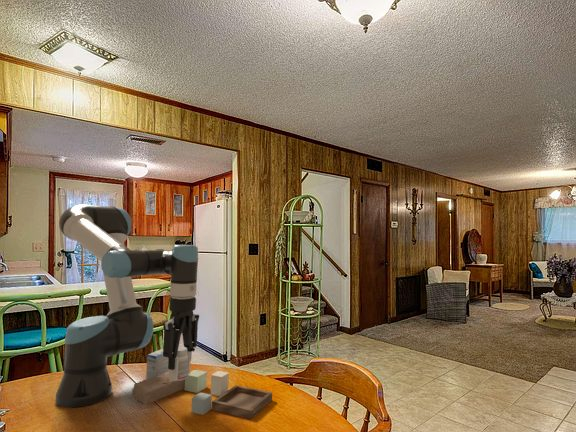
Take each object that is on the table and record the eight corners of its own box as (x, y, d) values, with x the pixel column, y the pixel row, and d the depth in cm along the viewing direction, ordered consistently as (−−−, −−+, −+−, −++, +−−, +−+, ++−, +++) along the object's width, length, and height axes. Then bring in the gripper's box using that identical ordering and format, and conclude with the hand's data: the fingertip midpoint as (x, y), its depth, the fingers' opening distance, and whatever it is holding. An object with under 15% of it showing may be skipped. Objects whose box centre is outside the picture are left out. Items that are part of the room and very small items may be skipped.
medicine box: (161, 372, 132) (162, 348, 133) (171, 374, 131) (172, 349, 131) (145, 380, 125) (146, 354, 126) (155, 382, 123) (156, 356, 124)
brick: (146, 405, 106) (147, 389, 107) (130, 398, 111) (131, 382, 112) (191, 387, 120) (191, 373, 120) (175, 381, 125) (175, 367, 125)
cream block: (210, 394, 114) (211, 374, 115) (217, 389, 118) (218, 370, 118) (221, 396, 113) (221, 377, 113) (228, 391, 116) (228, 372, 117)
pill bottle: (190, 375, 108) (191, 347, 108) (182, 381, 103) (183, 352, 104) (176, 373, 109) (177, 345, 109) (167, 379, 104) (168, 350, 105)
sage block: (184, 390, 117) (185, 374, 117) (194, 384, 122) (194, 369, 122) (197, 393, 115) (197, 377, 115) (206, 387, 120) (207, 372, 120)
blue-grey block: (191, 412, 102) (191, 397, 103) (200, 406, 106) (200, 392, 106) (202, 415, 101) (203, 400, 101) (211, 409, 104) (211, 394, 105)
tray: (211, 409, 104) (212, 401, 104) (235, 392, 116) (235, 385, 116) (251, 419, 99) (251, 410, 99) (272, 400, 111) (272, 392, 111)
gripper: (172, 302, 98) (168, 390, 97) (211, 293, 114) (208, 368, 113) (151, 300, 101) (146, 385, 100) (192, 291, 117) (188, 364, 116)
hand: (179, 376), depth 106 cm, fingers closed on pill bottle, 5 cm apart
